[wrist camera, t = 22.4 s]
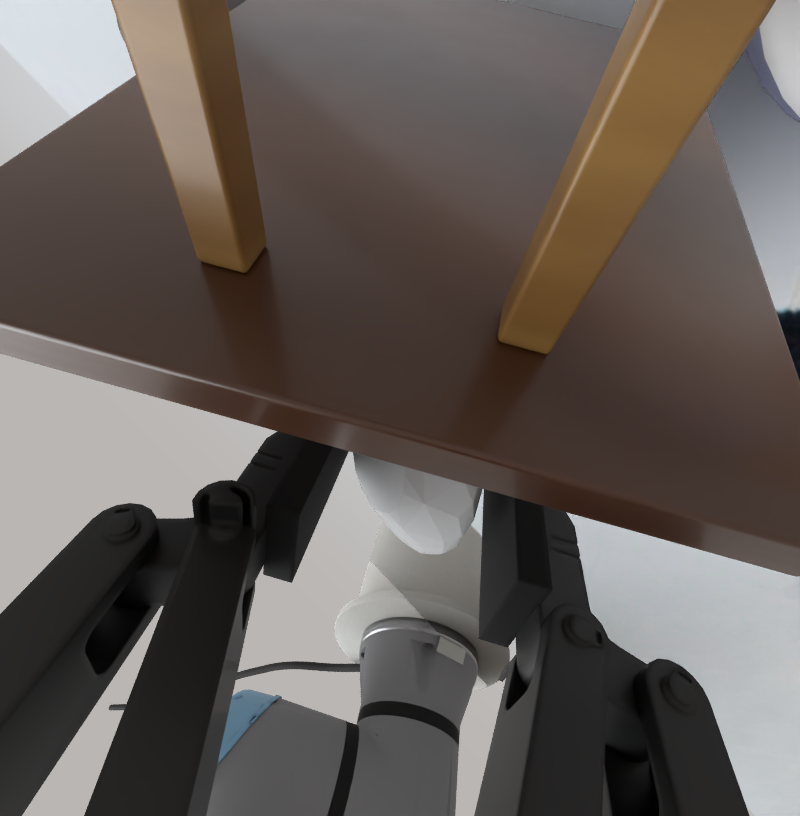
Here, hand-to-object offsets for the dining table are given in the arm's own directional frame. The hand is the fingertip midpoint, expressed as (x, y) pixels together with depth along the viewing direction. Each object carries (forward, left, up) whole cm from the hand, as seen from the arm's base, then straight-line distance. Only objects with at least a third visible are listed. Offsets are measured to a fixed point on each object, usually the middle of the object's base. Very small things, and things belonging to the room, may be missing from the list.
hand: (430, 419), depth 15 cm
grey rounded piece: (0, 0, 0) cm, 0 cm away
